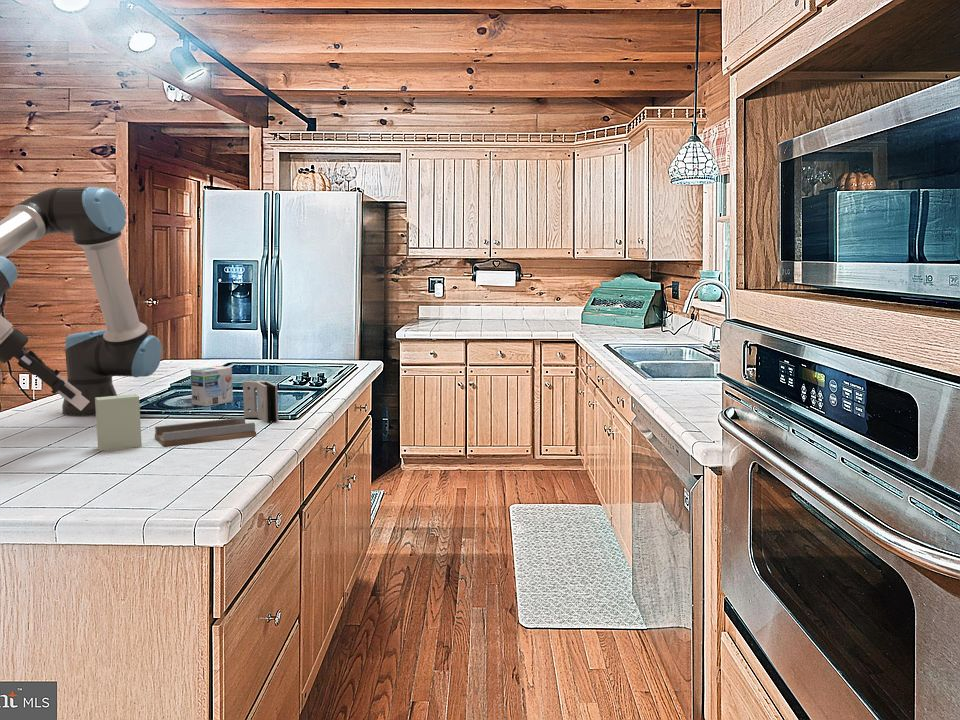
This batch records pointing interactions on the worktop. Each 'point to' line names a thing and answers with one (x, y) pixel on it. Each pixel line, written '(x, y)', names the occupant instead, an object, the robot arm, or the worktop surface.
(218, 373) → the light bulb box
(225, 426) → the track
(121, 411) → the door panel
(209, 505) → the worktop surface
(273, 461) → the worktop surface
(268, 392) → the hinge
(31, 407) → the worktop surface
